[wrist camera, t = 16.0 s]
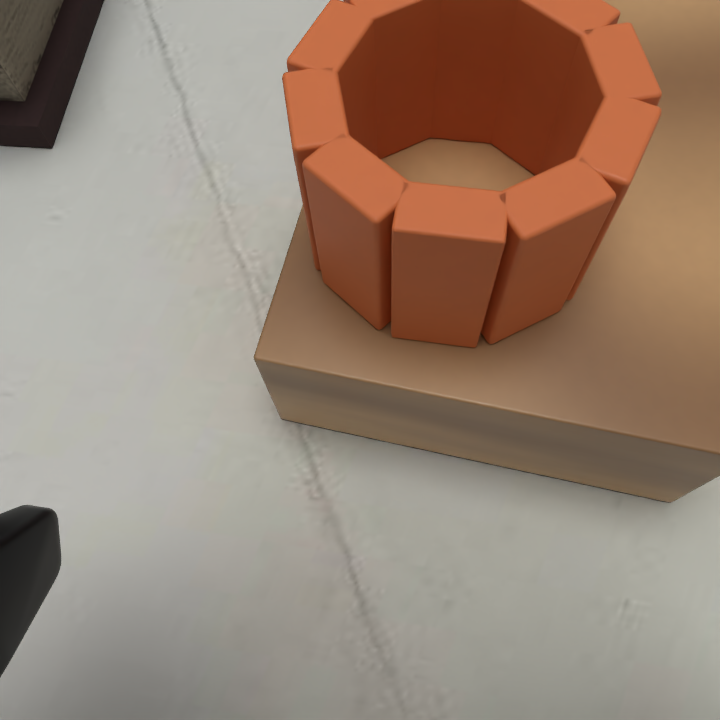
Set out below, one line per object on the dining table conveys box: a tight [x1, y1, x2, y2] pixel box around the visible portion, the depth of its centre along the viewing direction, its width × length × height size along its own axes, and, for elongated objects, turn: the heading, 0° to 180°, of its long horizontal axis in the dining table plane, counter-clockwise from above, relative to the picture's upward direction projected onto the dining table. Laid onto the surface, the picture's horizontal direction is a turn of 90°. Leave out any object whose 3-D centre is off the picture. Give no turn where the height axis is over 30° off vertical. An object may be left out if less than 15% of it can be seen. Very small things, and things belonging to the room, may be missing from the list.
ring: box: [282, 0, 662, 348], centre depth 14 cm, size 6×7×4 cm
